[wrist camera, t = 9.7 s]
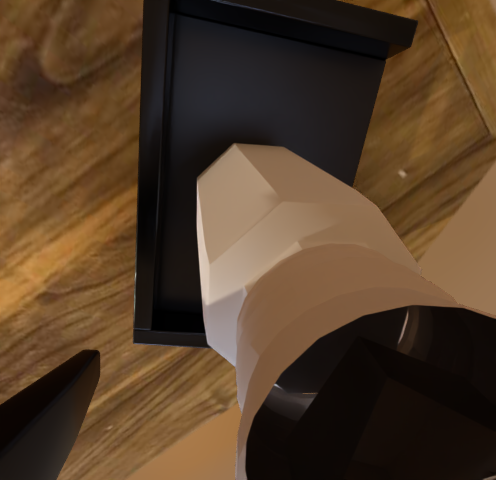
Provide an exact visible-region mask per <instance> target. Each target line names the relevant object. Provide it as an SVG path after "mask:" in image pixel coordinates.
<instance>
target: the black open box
mask: <svg viewBox="0 0 496 480" xmlns="http://www.w3.org/2000/svg"><path fill="white" fill-rule="evenodd" d="M417 25H418V21H417V20H413V19H409V18H405V17H401V16H397V15H393V14H389V13H385V12H381V11H377V10H373V9H369V8H365V7H361V6H357V5H353V4H349V3H345V2H341V1H337V0H144V1H143V33H142V65H141V97H140V129H139V161H138V192H137V224H136V256H135V288H134V320H133V328H134V329H133V343H134V344H145V345H162V346H179V347H196V348H212V347H211V346H209V345H208V343H207V337H206V331H205V325H204V319H203V306H202V293H201V279H200V266H199V252H198V239H197V177H198V176H199V175H200V174H201V173H202V172H203V171H204V170H205V169H207V168H208V167H209V166H210V165H211V164H212V163H213V162H214V161H215V160H216V159H217V158H218V157H219V156H220V155H221V154H223V153H224V152H225V151H226V150H227V149H228V148H229V147H230V146H231V145H232V144H233V143H239V144H253V145H267V146H281V147H285V148H286V149H288V150H290V151H291V152H293V153H295V154H296V155H298V156H300V157H301V158H303V159H305V160H306V161H308V162H310V163H311V164H313V165H315V166H316V167H318V168H320V169H321V170H323V171H325V172H326V173H328V174H330V175H331V176H333V177H335V178H336V179H338V180H340V181H341V182H343V183H345V184H346V185H348V186H350V187H351V188H352V186H353V183H354V179H355V175H356V171H357V168H358V164H359V160H360V157H361V153H362V149H363V145H364V142H365V138H366V134H367V130H368V127H369V123H370V119H371V116H372V112H373V108H374V104H375V101H376V97H377V93H378V90H379V86H380V82H381V78H382V75H383V71H384V67H385V63H386V59H388V58H390V57H392V56H394V55H396V54H398V53H400V52H402V51H404V50H406V49H408V48H410V47H411V45H412V42H413V38H414V35H415V32H416V28H417ZM212 349H213V348H212Z"/></svg>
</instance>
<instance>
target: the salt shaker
mask: <svg viewBox="0 0 496 480" xmlns="http://www.w3.org/2000/svg"><path fill="white" fill-rule="evenodd" d="M197 239H198V252H199V266H200V279H201V293H202V306H203V319H204V325H205V331H206V337H207V343H208V345H209V346H211V347H212V348H213V349H214V350H215V351H217V352H218V353H219V354H220V355H221V356H223V357H224V358H225V359H226V360H228V361H229V362H230V363H231V364H232V365H234V366H235V367H236V373H237V378H236V384H237V387H238V390H237V399H238V403H239V406H240V410H241V413H242V416H241V421H240V426H239V430H238V438H237V451H236V464H235V467H236V468H235V476H236V477H235V478H236V479H235V480H496V316H495V315H492V314H489V313H486V312H483V311H480V310H477V309H473V308H470V307H467V306H464V305H461V304H458V303H457V302H456V301H455V299H454V298H453V297H452V296H450V295H449V294H447V293H446V292H445V291H443V290H442V289H441V288H439V287H438V286H436V285H435V284H433V283H432V282H430V281H427V280H426V279H425V278H423V277H422V276H420V275H421V271H422V269H421V268H420V266H419V265H418V263H417V262H416V261H415V259H414V258H413V256H412V255H411V253H410V252H409V251H408V249H407V248H406V246H405V245H404V244H403V242H402V241H401V239H400V238H399V236H398V235H397V234H396V232H395V231H394V229H393V228H392V227H391V225H390V224H389V222H388V221H387V219H386V218H385V217H384V215H383V214H382V212H381V211H380V210H379V208H378V207H377V206H376V205H375V204H374V203H372V202H371V201H370V200H368V199H367V198H366V197H364V196H363V195H362V194H361V193H359V192H358V191H356V190H355V189H353V188H351V187H350V186H348V185H346V184H345V183H343V182H341V181H340V180H338V179H336V178H335V177H333V176H331V175H330V174H328V173H326V172H325V171H323V170H321V169H320V168H318V167H316V166H315V165H313V164H311V163H310V162H308V161H306V160H305V159H303V158H301V157H300V156H298V155H296V154H295V153H293V152H291V151H290V150H288V149H286V148H285V147H281V146H267V145H253V144H239V143H233V144H232V145H231V146H230V147H229V148H228V149H227V150H226V151H225V152H224V153H223V154H221V155H220V156H219V157H218V158H217V159H216V160H215V161H214V162H213V163H212V164H211V165H210V166H209V167H208V168H207V169H205V170H204V171H203V172H202V173H201V174H200V175H199V176H198V177H197ZM407 319H408V320H407ZM406 323H407V324H406ZM405 326H406V327H405ZM403 333H404V334H403ZM302 393H315V394H302Z"/></svg>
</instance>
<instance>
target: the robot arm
mask: <svg viewBox="0 0 496 480" xmlns="http://www.w3.org/2000/svg"><path fill="white" fill-rule="evenodd" d="M99 377H100V352H99V351H98V350H87V349H86V350H82V351H81V352H79V353H78V354H76V355H75V356H73V357H72V358H70V359H69V360H67V361H66V362H64V363H63V364H61V365H59V366H58V367H56V368H55V369H53V370H52V371H50V372H49V373H47V374H46V375H44V376H43V377H41V378H40V379H38V380H37V381H35V382H34V383H32V384H31V385H29V386H28V387H26V388H25V389H23V390H22V391H20V392H19V393H17V394H16V395H14V396H13V397H11V398H10V399H8V400H7V401H5V402H4V403H2V404H1V405H0V480H56V479H57V477H58V475H59V473H60V471H61V469H62V467H63V465H64V463H65V461H66V459H67V457H68V455H69V453H70V451H71V449H72V447H73V445H74V443H75V441H76V438H77V436H78V433H79V431H80V428H81V426H82V423H83V420H84V418H85V415H86V413H87V410H88V407H89V405H90V402H91V400H92V397H93V394H94V392H95V389H96V387H97V384H98V381H99Z"/></svg>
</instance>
